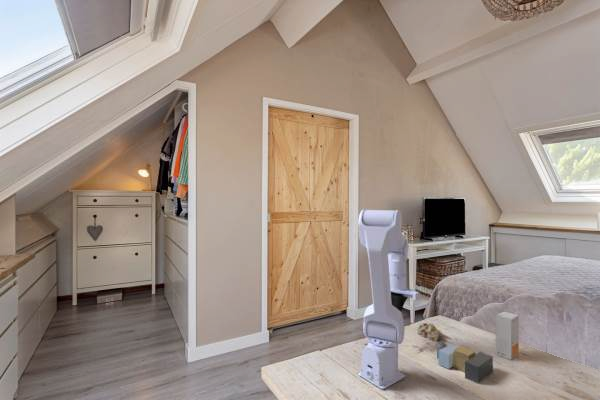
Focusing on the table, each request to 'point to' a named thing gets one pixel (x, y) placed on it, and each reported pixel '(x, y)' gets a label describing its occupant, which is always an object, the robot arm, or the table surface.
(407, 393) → the table surface
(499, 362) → the table surface
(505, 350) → the skincare box
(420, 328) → the mineral rock
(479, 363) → the grey block
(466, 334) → the table surface
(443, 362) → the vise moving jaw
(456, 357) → the brass block
